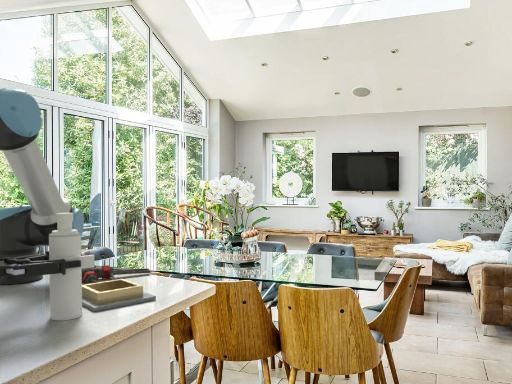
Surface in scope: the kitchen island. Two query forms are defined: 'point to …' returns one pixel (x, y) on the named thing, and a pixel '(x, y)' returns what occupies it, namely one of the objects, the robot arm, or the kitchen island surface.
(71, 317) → the white bottle
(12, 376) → the kitchen island surface
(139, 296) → the flange plate
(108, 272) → the power drill
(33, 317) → the kitchen island surface
